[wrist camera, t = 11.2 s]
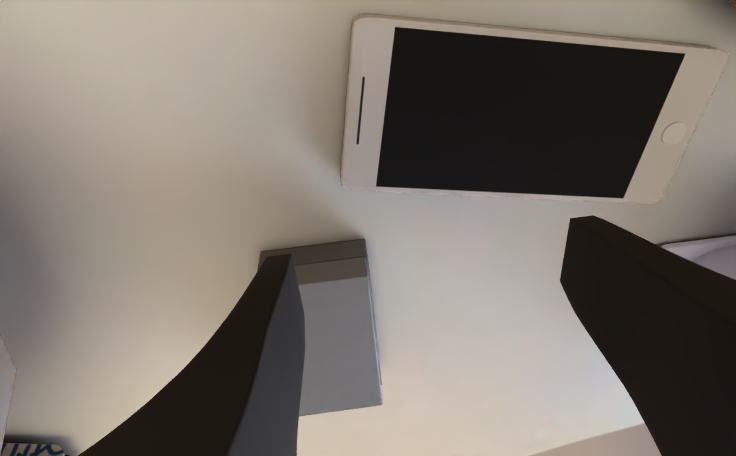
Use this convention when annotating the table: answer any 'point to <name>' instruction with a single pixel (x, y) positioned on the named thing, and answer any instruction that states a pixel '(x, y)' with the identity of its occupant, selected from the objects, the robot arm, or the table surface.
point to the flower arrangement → (5, 387)
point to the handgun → (31, 450)
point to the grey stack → (336, 327)
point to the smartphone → (519, 110)
